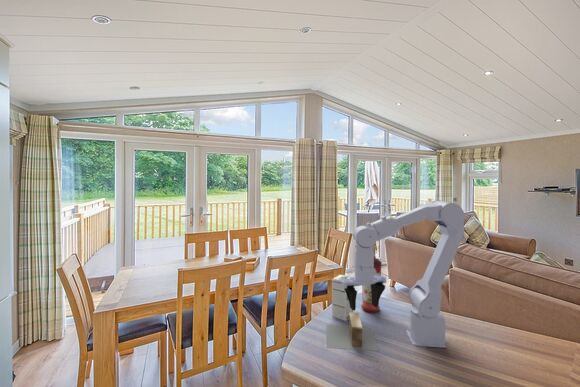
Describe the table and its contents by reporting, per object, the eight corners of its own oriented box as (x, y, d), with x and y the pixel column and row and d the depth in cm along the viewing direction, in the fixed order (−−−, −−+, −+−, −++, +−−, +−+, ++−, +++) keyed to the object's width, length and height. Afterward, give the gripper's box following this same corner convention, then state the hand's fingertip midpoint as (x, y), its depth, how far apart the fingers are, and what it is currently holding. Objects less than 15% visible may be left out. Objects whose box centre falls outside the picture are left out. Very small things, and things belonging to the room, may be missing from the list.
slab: (358, 330, 94) (358, 312, 94) (361, 346, 85) (362, 327, 85) (349, 329, 95) (349, 312, 94) (351, 346, 86) (352, 326, 85)
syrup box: (346, 322, 100) (346, 282, 99) (331, 317, 104) (331, 278, 103) (353, 315, 105) (353, 277, 104) (338, 311, 108) (339, 273, 107)
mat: (370, 328, 96) (370, 327, 96) (378, 352, 83) (378, 350, 83) (326, 325, 98) (326, 324, 98) (326, 348, 85) (326, 347, 85)
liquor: (360, 313, 106) (361, 239, 104) (360, 304, 113) (362, 235, 111) (380, 316, 104) (382, 240, 102) (380, 307, 111) (381, 236, 109)
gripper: (377, 259, 94) (377, 299, 95) (337, 263, 91) (337, 304, 92) (390, 265, 88) (389, 308, 89) (347, 270, 84) (347, 315, 85)
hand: (363, 307), depth 90 cm, fingers open, 7 cm apart
